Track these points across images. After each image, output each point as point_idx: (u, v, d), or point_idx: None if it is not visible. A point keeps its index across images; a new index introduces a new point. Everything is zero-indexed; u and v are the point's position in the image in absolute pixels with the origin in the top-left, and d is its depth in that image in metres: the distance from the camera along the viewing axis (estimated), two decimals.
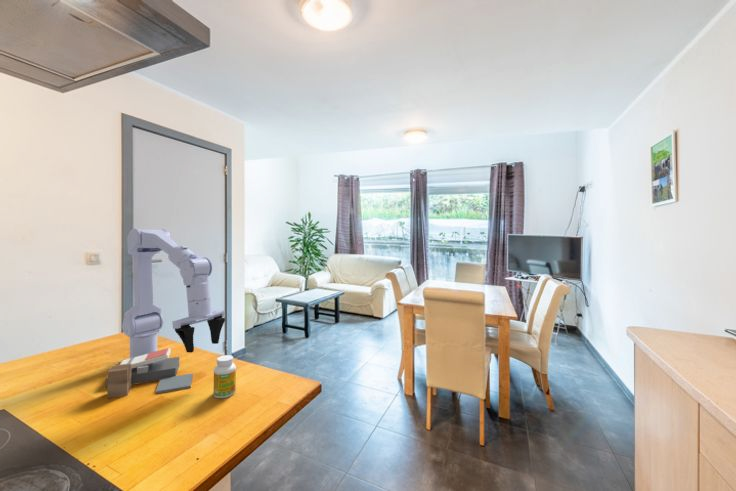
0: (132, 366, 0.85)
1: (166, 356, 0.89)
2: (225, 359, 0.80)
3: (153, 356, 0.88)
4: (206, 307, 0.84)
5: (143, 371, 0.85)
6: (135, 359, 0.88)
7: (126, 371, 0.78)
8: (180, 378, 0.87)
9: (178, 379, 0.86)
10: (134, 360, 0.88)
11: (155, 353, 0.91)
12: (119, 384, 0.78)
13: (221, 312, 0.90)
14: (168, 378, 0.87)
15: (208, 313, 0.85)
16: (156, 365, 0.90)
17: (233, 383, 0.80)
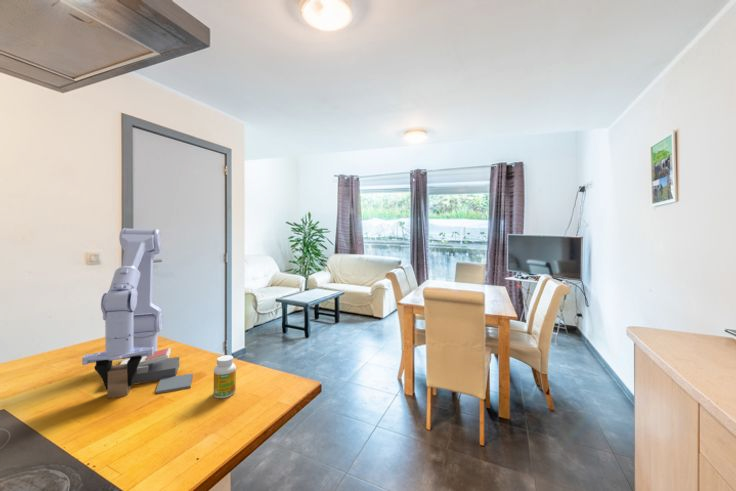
0: None
1: (166, 356, 0.89)
2: (225, 359, 0.80)
3: (153, 356, 0.88)
4: (116, 347, 0.76)
5: (143, 371, 0.85)
6: None
7: (126, 371, 0.78)
8: (180, 378, 0.87)
9: (178, 379, 0.86)
10: None
11: (155, 353, 0.91)
12: (119, 384, 0.78)
13: (146, 351, 0.81)
14: (168, 378, 0.87)
15: (119, 354, 0.77)
16: (156, 365, 0.90)
17: (233, 383, 0.80)
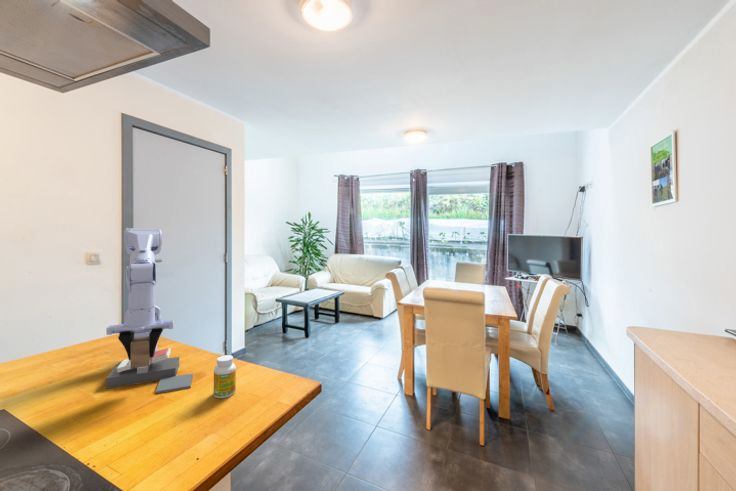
0: None
1: (166, 356, 0.89)
2: (225, 359, 0.80)
3: (153, 356, 0.88)
4: (139, 318, 0.78)
5: (143, 371, 0.85)
6: None
7: (148, 342, 0.80)
8: (180, 378, 0.87)
9: (178, 379, 0.86)
10: None
11: (155, 353, 0.91)
12: (141, 354, 0.79)
13: (167, 324, 0.83)
14: (168, 378, 0.87)
15: (142, 325, 0.79)
16: (156, 365, 0.90)
17: (233, 383, 0.80)
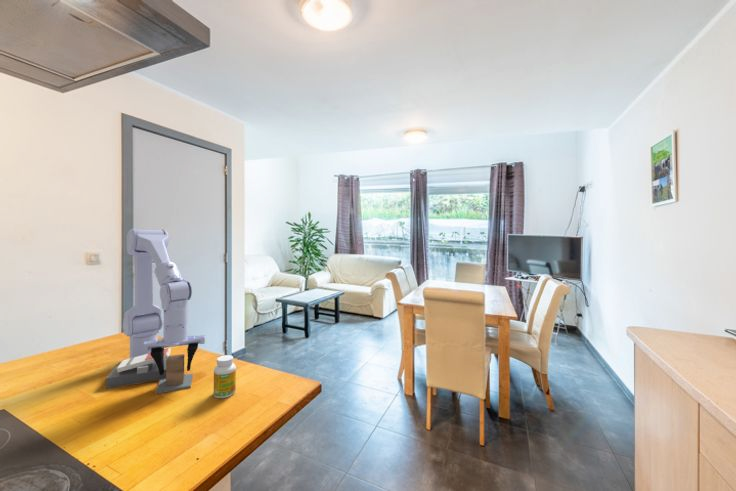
0: (132, 366, 0.85)
1: (166, 356, 0.89)
2: (225, 359, 0.80)
3: None
4: (174, 334, 0.82)
5: (143, 371, 0.85)
6: (135, 359, 0.88)
7: (182, 361, 0.84)
8: None
9: None
10: (134, 360, 0.88)
11: None
12: (176, 373, 0.83)
13: (199, 339, 0.86)
14: None
15: (177, 341, 0.82)
16: (156, 365, 0.90)
17: (233, 383, 0.80)
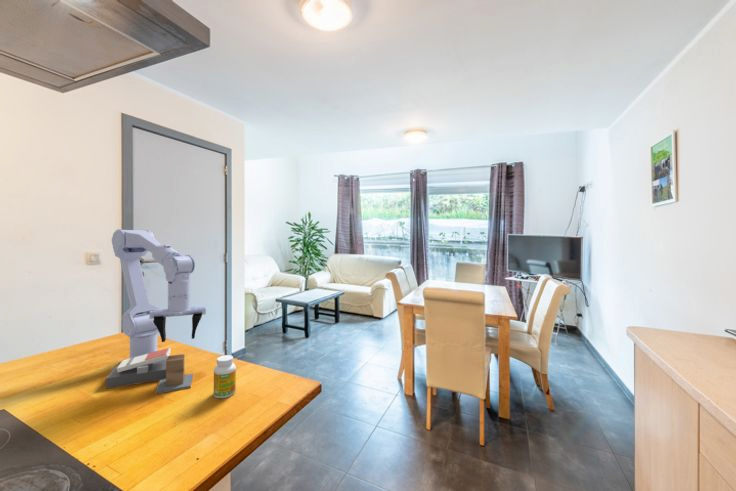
0: (132, 366, 0.85)
1: (166, 356, 0.89)
2: (225, 359, 0.80)
3: (153, 356, 0.88)
4: (178, 304, 0.89)
5: (143, 371, 0.85)
6: (135, 359, 0.88)
7: (182, 361, 0.84)
8: None
9: None
10: (134, 360, 0.88)
11: (155, 353, 0.91)
12: (176, 373, 0.83)
13: (200, 310, 0.93)
14: None
15: (180, 310, 0.89)
16: (156, 365, 0.90)
17: (233, 383, 0.80)
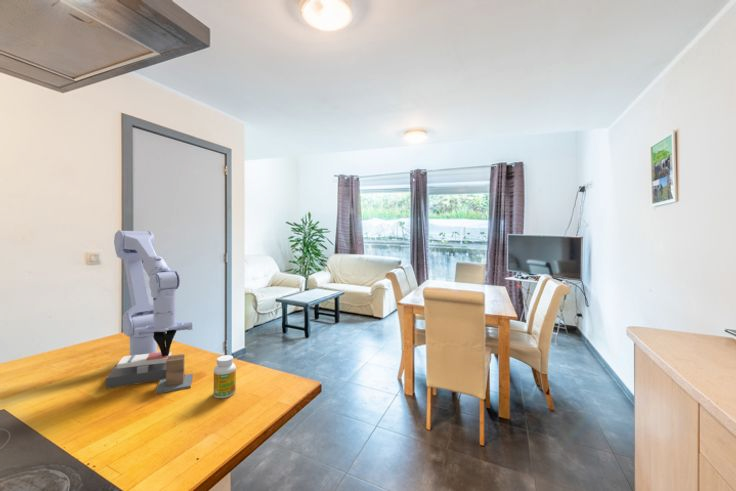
0: (132, 364, 0.85)
1: None
2: (225, 359, 0.80)
3: (154, 357, 0.89)
4: (163, 320, 0.88)
5: (143, 371, 0.85)
6: (136, 357, 0.89)
7: (182, 361, 0.84)
8: None
9: None
10: (135, 358, 0.88)
11: (156, 354, 0.91)
12: (176, 373, 0.83)
13: (187, 325, 0.92)
14: None
15: (166, 326, 0.89)
16: (156, 365, 0.90)
17: (233, 383, 0.80)
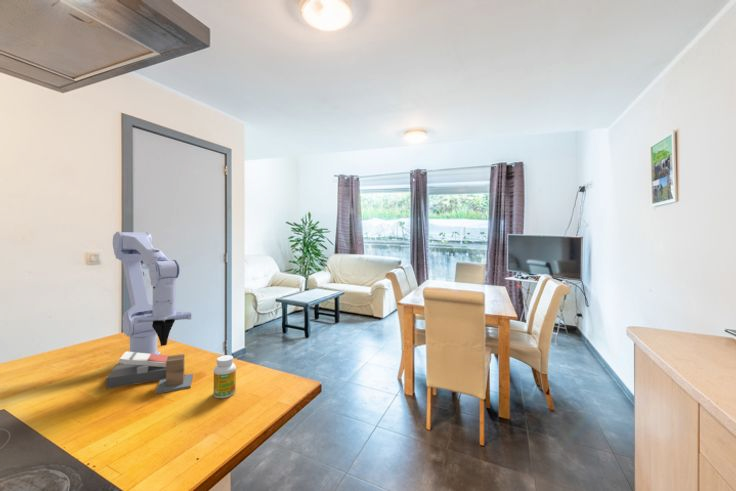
0: (133, 362, 0.85)
1: None
2: (225, 359, 0.80)
3: (155, 359, 0.89)
4: (162, 309, 0.88)
5: (143, 371, 0.85)
6: (137, 355, 0.89)
7: (182, 361, 0.84)
8: None
9: None
10: (136, 356, 0.88)
11: (157, 357, 0.91)
12: (176, 373, 0.83)
13: (186, 315, 0.92)
14: None
15: (165, 315, 0.88)
16: None
17: (233, 383, 0.80)
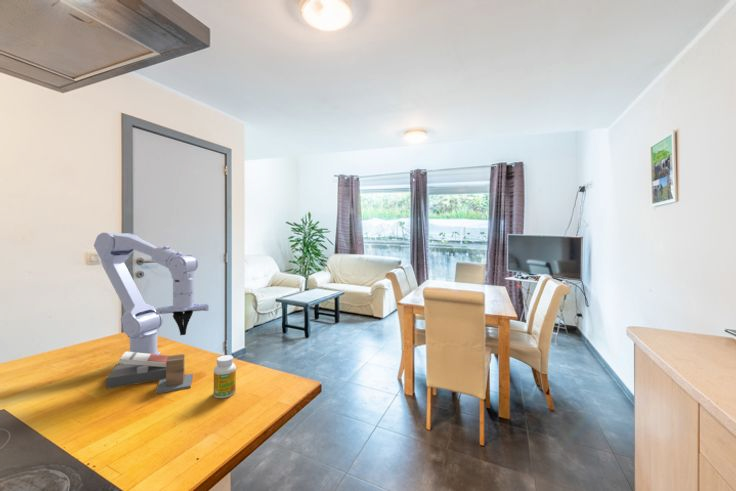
0: (133, 362, 0.85)
1: None
2: (225, 359, 0.80)
3: (155, 359, 0.89)
4: (182, 301, 0.95)
5: (143, 371, 0.85)
6: (137, 355, 0.89)
7: (182, 361, 0.84)
8: None
9: None
10: (136, 356, 0.88)
11: (157, 357, 0.91)
12: (176, 373, 0.83)
13: (203, 307, 0.99)
14: None
15: (184, 306, 0.95)
16: None
17: (233, 383, 0.80)
